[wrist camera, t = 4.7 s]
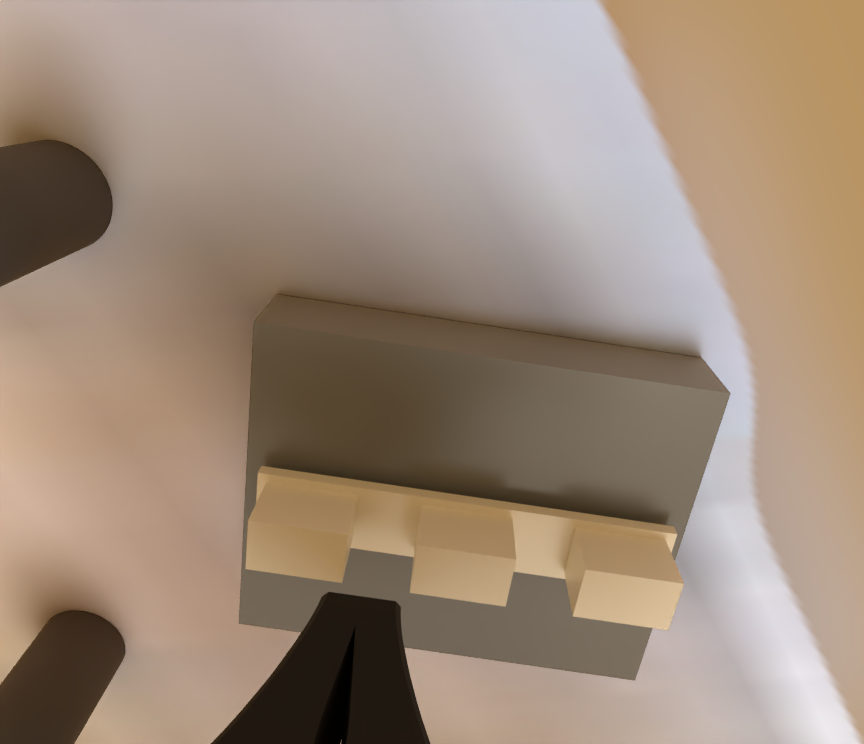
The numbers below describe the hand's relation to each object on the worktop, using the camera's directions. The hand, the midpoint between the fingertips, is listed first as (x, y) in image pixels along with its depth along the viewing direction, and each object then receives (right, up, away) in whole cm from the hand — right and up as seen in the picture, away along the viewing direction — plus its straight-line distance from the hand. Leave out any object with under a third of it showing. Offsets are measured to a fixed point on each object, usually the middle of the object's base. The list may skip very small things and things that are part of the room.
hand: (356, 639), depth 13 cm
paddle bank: (+2, +1, +3) cm, 4 cm away
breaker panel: (+2, +2, +5) cm, 6 cm away
